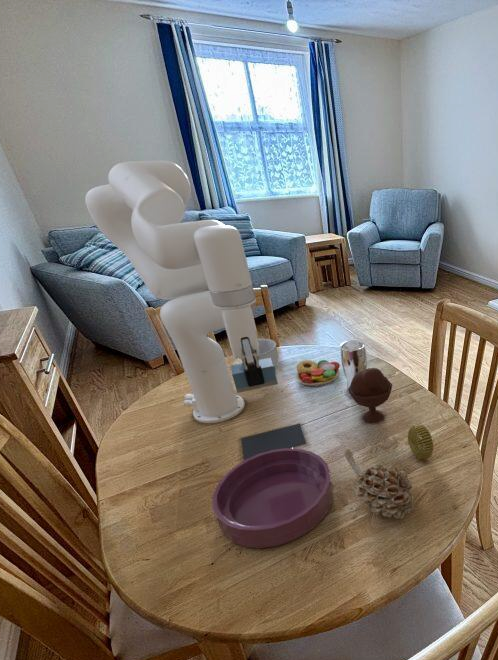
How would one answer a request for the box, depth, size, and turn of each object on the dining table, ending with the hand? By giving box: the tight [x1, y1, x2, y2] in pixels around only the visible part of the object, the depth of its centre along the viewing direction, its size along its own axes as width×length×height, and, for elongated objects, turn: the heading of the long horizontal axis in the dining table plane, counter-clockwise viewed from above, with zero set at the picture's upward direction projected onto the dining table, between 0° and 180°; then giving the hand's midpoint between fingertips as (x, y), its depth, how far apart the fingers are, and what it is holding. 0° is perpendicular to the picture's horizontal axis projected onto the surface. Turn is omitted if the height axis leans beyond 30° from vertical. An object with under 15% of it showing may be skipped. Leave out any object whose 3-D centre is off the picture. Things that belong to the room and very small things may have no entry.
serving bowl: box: [211, 447, 334, 549], centre depth 81 cm, size 22×22×6 cm
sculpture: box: [407, 424, 434, 460], centre depth 93 cm, size 8×4×8 cm, turn 29°
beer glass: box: [340, 339, 368, 398], centre depth 115 cm, size 7×7×15 cm
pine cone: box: [344, 447, 415, 519], centre depth 82 cm, size 22×10×10 cm, turn 46°
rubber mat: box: [240, 423, 307, 461], centre depth 99 cm, size 14×9×1 cm, turn 116°
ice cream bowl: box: [348, 367, 393, 424], centre depth 104 cm, size 11×11×15 cm
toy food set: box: [295, 359, 341, 387], centre depth 126 cm, size 13×13×3 cm
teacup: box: [238, 338, 279, 368], centre depth 129 cm, size 14×11×8 cm
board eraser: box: [230, 358, 278, 394], centre depth 87 cm, size 8×4×4 cm, turn 117°
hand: (255, 378), depth 87 cm, fingers closed on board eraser, 4 cm apart
